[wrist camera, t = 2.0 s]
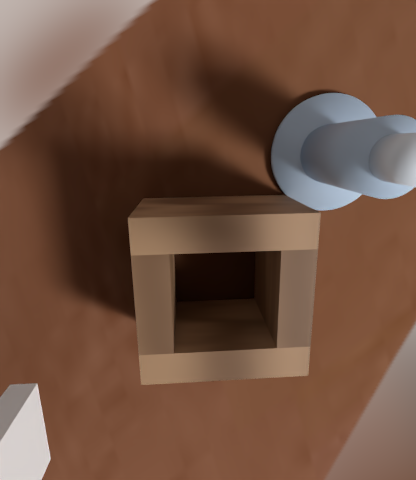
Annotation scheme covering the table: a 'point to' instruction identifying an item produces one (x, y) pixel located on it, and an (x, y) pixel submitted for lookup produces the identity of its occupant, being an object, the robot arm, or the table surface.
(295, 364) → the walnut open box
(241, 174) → the table surface
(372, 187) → the pale blue pawn
